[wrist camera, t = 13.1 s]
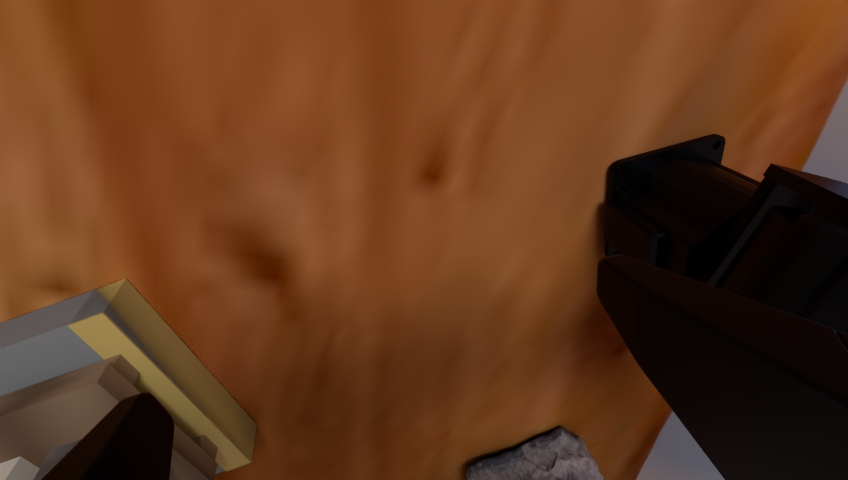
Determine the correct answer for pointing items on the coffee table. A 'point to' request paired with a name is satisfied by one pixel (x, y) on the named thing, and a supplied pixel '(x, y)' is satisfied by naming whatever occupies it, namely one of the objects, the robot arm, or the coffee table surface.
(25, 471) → the box
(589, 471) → the geode
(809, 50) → the coffee table surface
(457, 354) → the coffee table surface
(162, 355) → the dock
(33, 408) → the grey column with base
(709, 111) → the coffee table surface
